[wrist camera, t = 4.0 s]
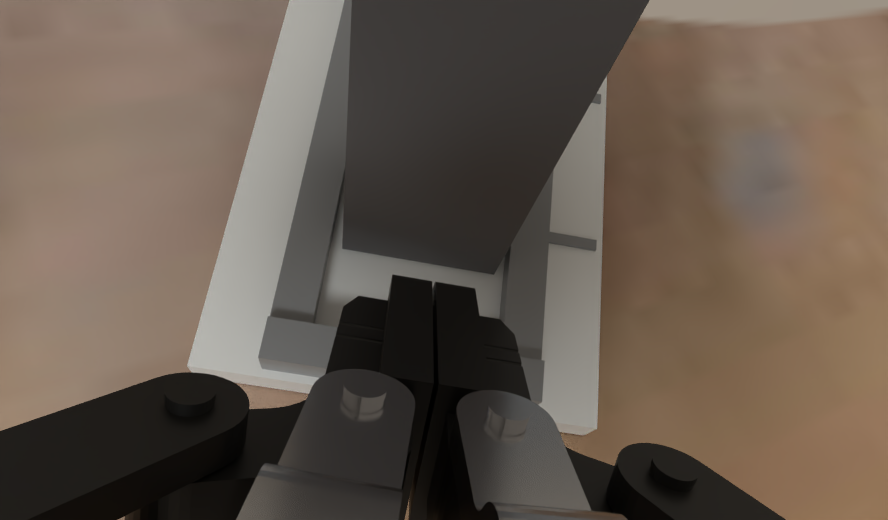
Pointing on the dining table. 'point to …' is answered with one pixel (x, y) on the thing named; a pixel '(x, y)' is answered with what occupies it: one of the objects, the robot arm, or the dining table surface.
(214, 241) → the dining table surface
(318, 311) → the fader console
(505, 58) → the fader tab
